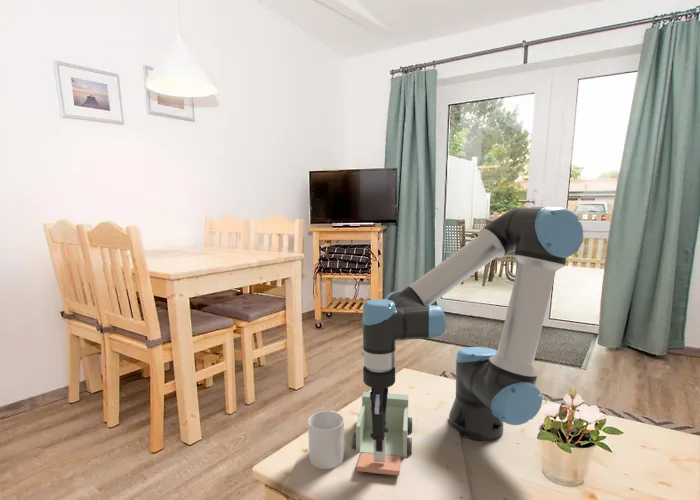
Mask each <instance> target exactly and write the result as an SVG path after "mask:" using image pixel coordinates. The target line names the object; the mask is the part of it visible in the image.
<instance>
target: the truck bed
mask: <svg viewBox="0 0 700 500" xmlns="http://www.w3.org/2000/svg"><path fill="white" fill-rule="evenodd" d="M370 392H371V391H363V393H362V395H361V398H362V399H361V401H362V403H361V407H360V410H359V413H358V415H357V421H356V425H355V432H353V434H352V441H351V447H352V449H355V452H356V453H361V452H366V453H374V440H373V438H371V433H373V428H372V412H371V399H370ZM385 428H388V432H384V433H385V436H386V454H387V455H397V456H402V457H404V458H406V457H407V456H408V455H412V453H413V452H412V451H413V450H412V449H413V446H412V445H413V444H412V443H413V437H408V434H409V433H413V417H410V416H409V394H402V393H401V394H399V393H389V392H388V395H387V405H386V425H385Z"/></svg>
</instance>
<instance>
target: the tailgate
mask: <svg viewBox="0 0 700 500" xmlns="http://www.w3.org/2000/svg"><path fill="white" fill-rule="evenodd" d="M359 453H360V454H359V455H360V456H359V459H358V461H357V465H356V472H362V473H363V472H364V473H371V474H378V475H379V474H380V475H390V476H391V475H392V476H400V470H401V460H402V457H403V456H397V455H387V454H386V460H385V463H381V462H374V453H366V452H359Z"/></svg>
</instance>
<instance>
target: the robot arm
mask: <svg viewBox="0 0 700 500" xmlns="http://www.w3.org/2000/svg"><path fill="white" fill-rule="evenodd" d="M583 228H584V227H583V225H582V222H581V221H580V220H579V217H578V216H577V214H576V213H574V212H573V211H571V210H570V209H568V208H565V207H557V206H552V205H550V206H531V207H530V206H521V207H516V208H514V209H511V210H508V211H507V212H505V213H503V214H502V215H500V216H499V217H496V219H493V221H491V222H490V223H488V224H487V225H485V226H484V227H482V228H481V229H479V231H478V235H477V236H476V237H475V238H474V239H472V240H470V241H469V242H468V243H467V244H465V245H463V246H462V247H461V248H459V249H458V250H457V251H455V252H454V253H452V255H449V257H447V258H446V259H444V260H443V261H441V262H440V263H439V264H438V265H436V266H435V267H433V268H432V269H431V270H429V271H428V272H426V273H425V274H423V275H422V276H420V277H419V278H418V279H417V280H415V281H414V282H413V283H411V284H410V285H409V286H407V287H405V288H404V289H402V290H401V291H392V292H390V293H388V294H387V295H386V296H385V298H384V299H382V298H381V299H380V298H374V299H370V300H367V301H365V303H364V304H363V307H362V320H361V322H362V343H363V344H362V351H360V356H363V357H362V360H363V367H362V373H363V374H362V377H363V378H362V379H363V380H362V381H363V383H364V384H365V385H366V386H367V387H369V388H370V389H371V390H370V391H369V392H370V399H371V412H372V428H373V433H371V438H373V440H374V462H381V463H385V460H386V436H385V433H384V432H388V428H385V425H386V405H387V395H388V393H389V388H390V387H392V386H393V385H394V384H395V383H396V367H395V366H396V350H397V348H396V342H397V341H408V340H409V341H410V340H421V339H423V340H424V339H433V338H438V337H441V336H443V335H444V334H445V331H446V328H447V318H446V314H445V312H444V310H443V308H442V307H441V306H439V305H432V304H434V303H435V302H436V301H439V299H440V298H442V297H444V296H445V295H446V294H447V293H449V292H450V291H452V290H453V289H454V288H455V287H457V286H459V285H460V284H461V283H463V282H464V281H465V280H467V279H468V278H469V277H472V275H474V274H475V273H476V272H478V271H479V270H480V269H482V268H483V267H485V266H486V265H487V264H489V263H490V262H492V261H493V260H494V259H496V258H499V259H502V258H504V257H505V256H507V255H508V254H509V253H512V252H514V254H513V257H515V259H516V261H517V263H518V265H517V270H516V273H515V278H514V282H513V287H512V291H511V295H510V298H509V303H508V308H507V311H506V315H505V319H504V323H503V328H502V332H501V336H500V339H499V343H498V347H497V350H496V349H494V348H490V347H484V346H468V347H463V348H460V349H459V350H458V351H457V353H456V358H455V398H454V401H453V403H452V406H451V409H450V411H449V415H448V421H449V423H450V425H451V427H452V428H453V429H454V430H455V431H458V435H460V436H462V437H464V438H467V439H469V440H470V439H471V440H474V441H492V440H496V439H498V438H500V437H502V435H503V434H504V433H503V432H504V423H505V424H506V425H510V426H521V425H524V424H526V423H528V422H529V421H530V420H533V419H534V418H535V417H536V416H537V414H539V412H540V410H541V408H542V404H543V395H542V393H541V391H540V389H539V387H537V385H536V383H537V378H538V370H536V367H535V366H534V361H535V358H536V353H537V348H538V346H539V341H540V337H541V333H542V330H543V325H544V321H545V317H546V314H547V313H546V312H547V308H548V305H549V301H550V296H551V292H552V288H553V286H554V285H553V284H554V281H555V277H556V272H558V270H560V269H562V268H564V267H565V265H566V261H567V258H569V257H571V256H573V255H575V254H576V252H578V251H579V249H580V248H581V246H582V243H583V240H584V229H583Z"/></svg>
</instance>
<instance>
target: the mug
mask: <svg viewBox="0 0 700 500" xmlns="http://www.w3.org/2000/svg"><path fill="white" fill-rule="evenodd" d="M307 424H308V427H307V428H308V459H309V462H310V463H309V464H310V465H312V466H313V467H314V468H317V469H320V470H330V469H331V470H332V469H335V468H337V467H338V466H341V464H342V463H343V462H344V459H345V419H344V417H343V416H342V415H341V413H338V412H337V411H335V410H322V411H318V412H316V413H313V414H312V415H311V416H310V417H309V418H308V423H307Z"/></svg>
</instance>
